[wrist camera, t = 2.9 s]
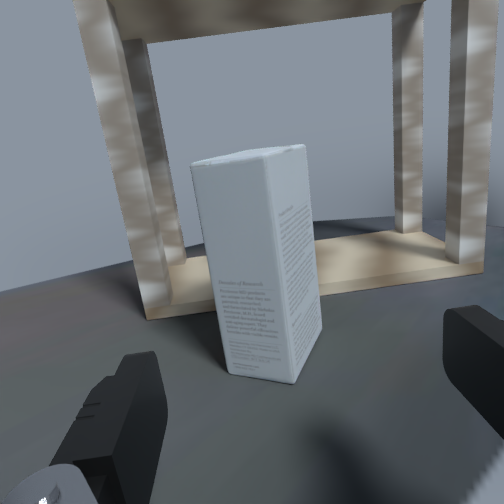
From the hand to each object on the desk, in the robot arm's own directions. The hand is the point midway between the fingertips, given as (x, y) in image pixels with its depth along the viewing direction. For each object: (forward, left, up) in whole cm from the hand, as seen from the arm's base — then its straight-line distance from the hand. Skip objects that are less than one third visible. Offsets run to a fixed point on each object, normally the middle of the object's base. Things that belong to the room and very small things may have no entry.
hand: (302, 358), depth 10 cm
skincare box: (0, +11, -7) cm, 13 cm away
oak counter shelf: (+4, +24, -7) cm, 25 cm away
